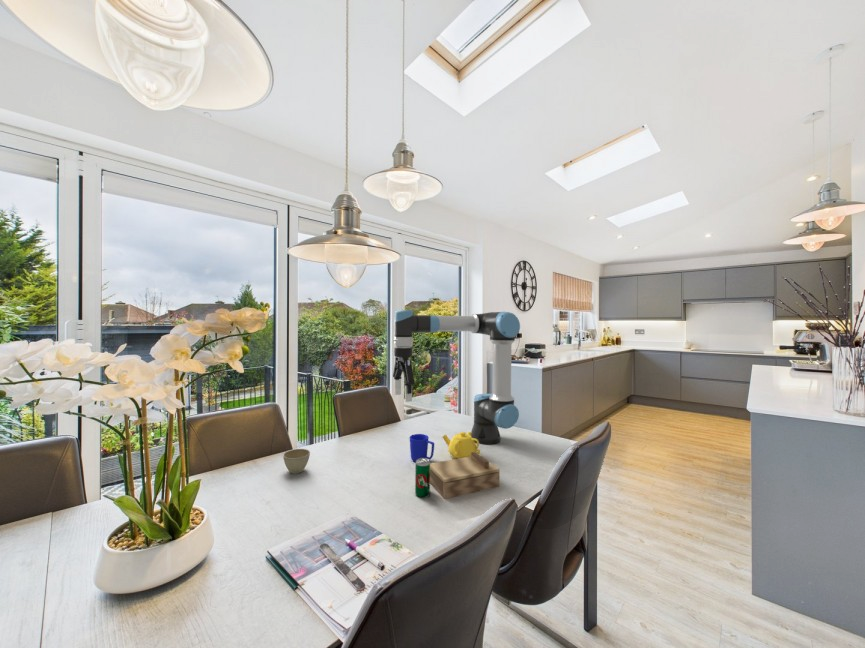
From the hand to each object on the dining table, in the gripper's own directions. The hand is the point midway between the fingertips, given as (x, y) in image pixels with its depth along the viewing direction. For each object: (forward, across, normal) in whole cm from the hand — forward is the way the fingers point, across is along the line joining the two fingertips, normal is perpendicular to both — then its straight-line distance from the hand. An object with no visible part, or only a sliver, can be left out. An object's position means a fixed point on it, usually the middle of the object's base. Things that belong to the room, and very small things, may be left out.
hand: (402, 398), depth 147 cm
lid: (+22, +27, +14) cm, 37 cm away
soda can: (+28, +27, -2) cm, 39 cm away
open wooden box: (+28, +27, +14) cm, 41 cm away
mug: (+28, 0, +9) cm, 30 cm away
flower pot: (+28, -10, -41) cm, 51 cm away
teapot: (+28, +2, +27) cm, 39 cm away
